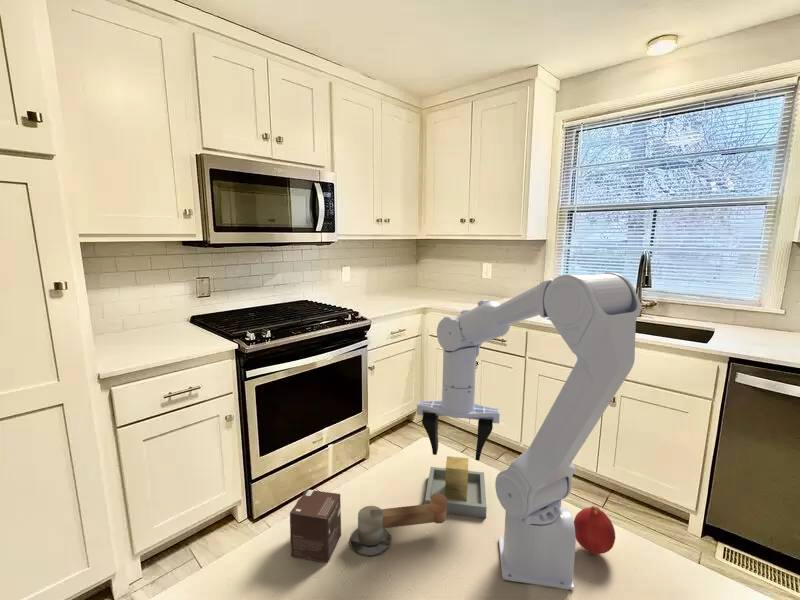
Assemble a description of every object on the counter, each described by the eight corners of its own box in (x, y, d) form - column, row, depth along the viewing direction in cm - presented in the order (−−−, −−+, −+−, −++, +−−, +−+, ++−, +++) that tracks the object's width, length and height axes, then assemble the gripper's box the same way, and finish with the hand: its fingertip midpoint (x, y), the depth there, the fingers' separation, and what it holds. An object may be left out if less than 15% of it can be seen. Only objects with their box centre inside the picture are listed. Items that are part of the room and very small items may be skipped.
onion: (576, 533, 65) (579, 488, 63) (615, 549, 61) (620, 502, 60) (567, 555, 60) (571, 507, 59) (609, 574, 57) (614, 524, 55)
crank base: (394, 529, 65) (394, 526, 65) (386, 559, 59) (386, 556, 59) (356, 524, 66) (356, 521, 66) (345, 553, 60) (345, 550, 60)
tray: (483, 481, 78) (483, 472, 78) (486, 517, 68) (486, 507, 68) (430, 475, 80) (430, 466, 80) (424, 510, 70) (425, 500, 69)
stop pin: (467, 487, 75) (468, 458, 75) (466, 500, 72) (468, 470, 71) (446, 485, 76) (447, 456, 75) (444, 498, 72) (445, 467, 71)
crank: (359, 547, 60) (359, 516, 59) (357, 528, 64) (357, 499, 63) (449, 535, 63) (450, 505, 62) (442, 518, 66) (442, 490, 66)
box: (327, 564, 58) (327, 519, 57) (289, 557, 59) (288, 513, 58) (341, 535, 64) (341, 493, 63) (307, 529, 65) (306, 488, 64)
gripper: (500, 379, 72) (496, 448, 74) (422, 372, 75) (420, 439, 77) (501, 393, 65) (497, 469, 67) (415, 385, 68) (414, 458, 70)
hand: (456, 454), depth 72 cm, fingers open, 7 cm apart
